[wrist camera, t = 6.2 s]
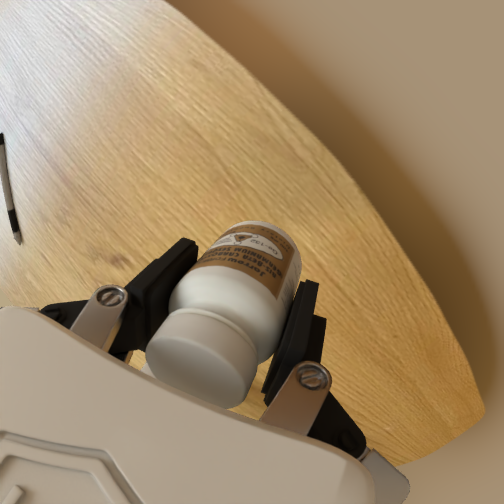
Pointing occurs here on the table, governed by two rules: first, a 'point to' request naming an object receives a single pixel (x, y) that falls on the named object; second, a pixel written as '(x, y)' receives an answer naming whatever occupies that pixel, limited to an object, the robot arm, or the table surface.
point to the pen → (8, 192)
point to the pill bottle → (227, 314)
